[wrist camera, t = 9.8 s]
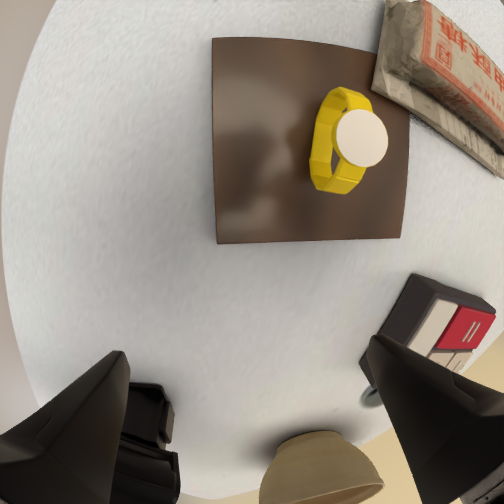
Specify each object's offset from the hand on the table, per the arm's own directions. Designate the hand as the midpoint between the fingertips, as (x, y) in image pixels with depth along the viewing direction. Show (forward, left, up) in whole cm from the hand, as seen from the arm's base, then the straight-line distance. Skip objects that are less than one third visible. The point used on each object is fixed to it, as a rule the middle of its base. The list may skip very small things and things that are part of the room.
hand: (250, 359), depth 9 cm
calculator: (+21, -11, -12) cm, 26 cm away
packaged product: (+19, +13, -11) cm, 25 cm away
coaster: (+6, +7, -11) cm, 15 cm away
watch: (+6, +7, -11) cm, 14 cm away
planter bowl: (+9, -31, -12) cm, 34 cm away
